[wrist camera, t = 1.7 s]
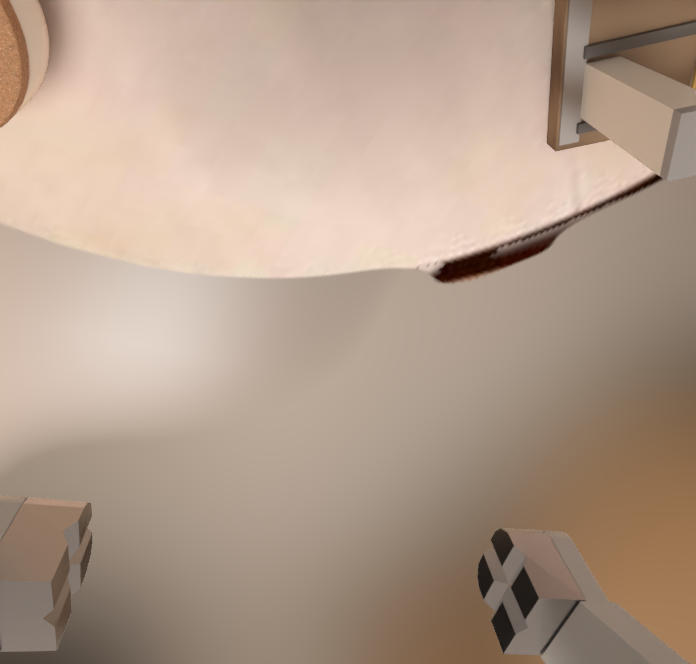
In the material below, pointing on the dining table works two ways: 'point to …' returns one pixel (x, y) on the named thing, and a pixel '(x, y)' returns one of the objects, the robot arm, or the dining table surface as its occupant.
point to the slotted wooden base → (614, 53)
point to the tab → (642, 114)
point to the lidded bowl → (21, 54)
